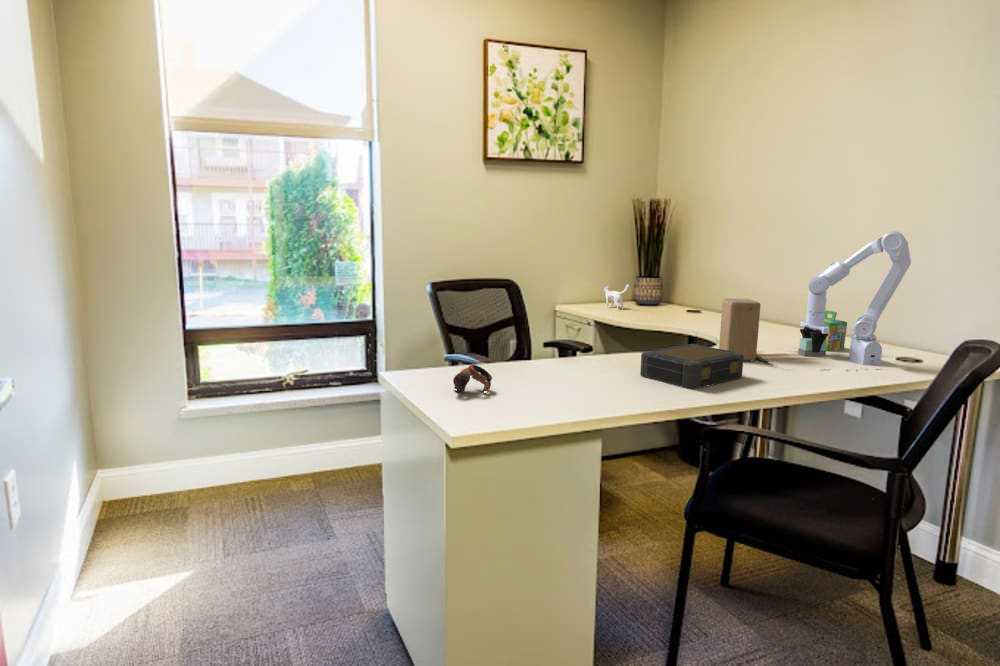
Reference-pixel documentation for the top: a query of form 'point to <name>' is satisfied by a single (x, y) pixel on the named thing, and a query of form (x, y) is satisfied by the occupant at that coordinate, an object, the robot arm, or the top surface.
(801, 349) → the sanding block
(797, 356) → the board
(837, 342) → the chalk box
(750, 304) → the wooden block
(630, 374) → the top surface
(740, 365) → the cash box
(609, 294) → the cat figurine
